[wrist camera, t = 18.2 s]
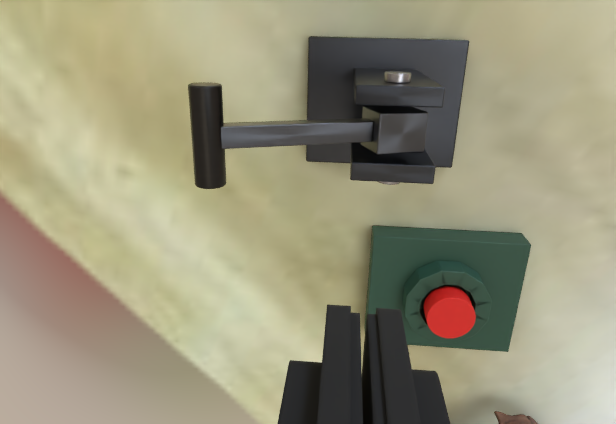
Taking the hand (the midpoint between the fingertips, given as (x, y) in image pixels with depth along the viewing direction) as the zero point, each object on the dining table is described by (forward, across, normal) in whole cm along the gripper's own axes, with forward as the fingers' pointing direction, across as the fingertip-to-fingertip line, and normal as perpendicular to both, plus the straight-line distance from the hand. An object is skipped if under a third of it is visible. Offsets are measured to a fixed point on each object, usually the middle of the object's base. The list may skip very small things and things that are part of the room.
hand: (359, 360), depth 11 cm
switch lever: (+17, +3, -2) cm, 17 cm away
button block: (+27, -8, +13) cm, 31 cm away
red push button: (+24, -8, +13) cm, 28 cm away
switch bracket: (+27, -2, -2) cm, 27 cm away
